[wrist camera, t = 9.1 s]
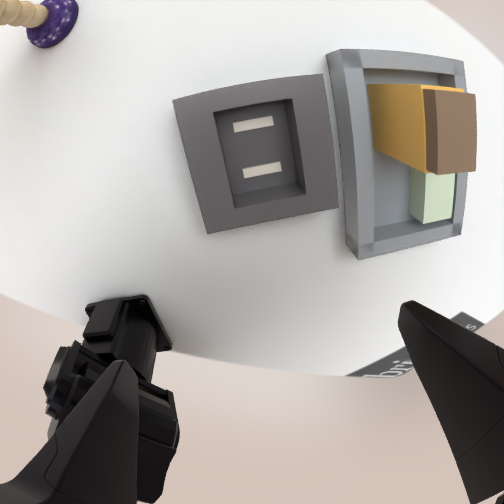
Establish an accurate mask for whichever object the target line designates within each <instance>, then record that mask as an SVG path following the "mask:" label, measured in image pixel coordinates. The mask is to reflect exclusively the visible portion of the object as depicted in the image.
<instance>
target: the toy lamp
mask: <svg viewBox="0 0 504 504" xmlns="http://www.w3.org/2000/svg"><path fill="white" fill-rule="evenodd" d="M77 15H78V5H77V3H76V1H75V0H45V1H43V2H42V3H40V4H33V3H31V2H29V1H19V0H0V25H6V24H9V25H11V26H24V27H26V32H27V37H28V39H29V40H30V42H31V43H32V44H34V45H35V46H37V47H41V48H47V47H51V46H53V45H55V44H57V43H58V42H60V41H61V40H62V39H63V38H64V37H65V36H66V35H67V34H68V33H69V32H70V30H71V29H72V27H73V25H74V23H75V21H76V19H77Z"/></svg>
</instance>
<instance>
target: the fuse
mask: <svg viewBox="0 0 504 504" xmlns="http://www.w3.org/2000/svg"><path fill="white" fill-rule="evenodd" d="M454 183H455V173H453V174H444V175H436V174H434V173H423V172H421V171H419V170H417V169H415V168H413V167H411V185H410V214H411V215H412V216H414V217H415V218H416V219H417V220H419V221H420V222H421V223H422V224H426V223H430V222H435V221H439V220H444V219H448V218H451V215H452V206H453V196H454Z"/></svg>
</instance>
